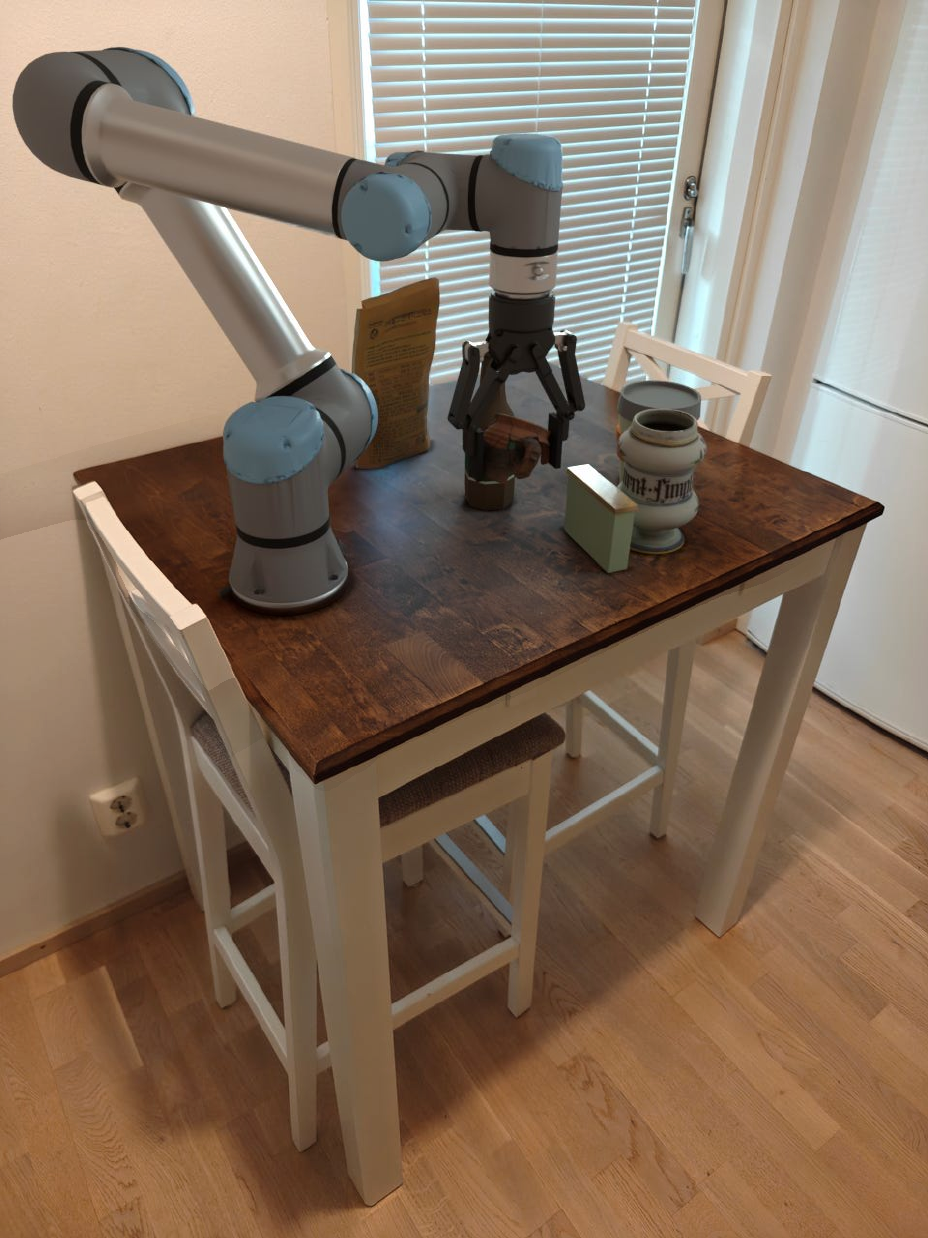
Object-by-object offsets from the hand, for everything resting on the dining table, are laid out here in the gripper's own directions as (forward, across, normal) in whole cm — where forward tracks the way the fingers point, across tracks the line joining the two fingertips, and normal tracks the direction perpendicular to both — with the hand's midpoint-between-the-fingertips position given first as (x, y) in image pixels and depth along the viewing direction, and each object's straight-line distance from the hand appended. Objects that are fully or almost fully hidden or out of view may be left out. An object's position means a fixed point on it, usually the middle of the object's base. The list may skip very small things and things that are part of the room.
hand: (515, 470), depth 113 cm
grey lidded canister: (+14, +31, +16) cm, 37 cm away
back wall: (+14, +13, 0) cm, 19 cm away
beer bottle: (+14, +5, +19) cm, 24 cm away
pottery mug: (0, 0, 0) cm, 0 cm away
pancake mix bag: (+14, -3, +39) cm, 42 cm away
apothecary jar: (+15, +22, 0) cm, 26 cm away
